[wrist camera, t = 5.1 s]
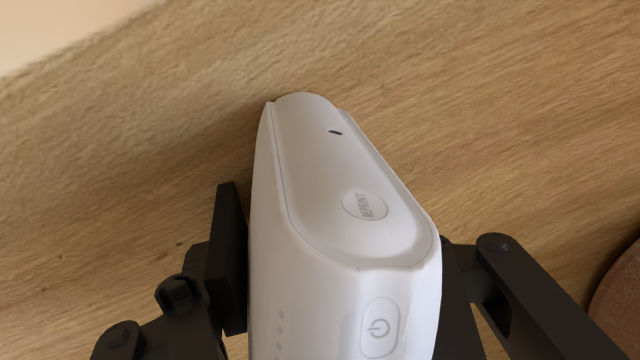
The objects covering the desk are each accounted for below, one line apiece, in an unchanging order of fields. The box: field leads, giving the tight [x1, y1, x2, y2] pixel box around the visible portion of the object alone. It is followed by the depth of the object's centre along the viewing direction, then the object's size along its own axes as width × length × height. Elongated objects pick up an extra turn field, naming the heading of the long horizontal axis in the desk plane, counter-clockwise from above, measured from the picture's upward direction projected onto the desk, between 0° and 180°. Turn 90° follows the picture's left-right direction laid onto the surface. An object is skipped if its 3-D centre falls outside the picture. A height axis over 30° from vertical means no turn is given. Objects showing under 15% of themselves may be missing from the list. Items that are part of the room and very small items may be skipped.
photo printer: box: [248, 92, 442, 360], centre depth 13 cm, size 10×4×12 cm, turn 172°
